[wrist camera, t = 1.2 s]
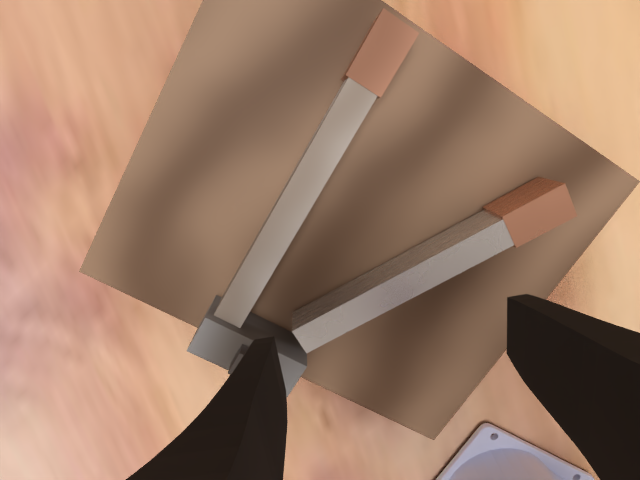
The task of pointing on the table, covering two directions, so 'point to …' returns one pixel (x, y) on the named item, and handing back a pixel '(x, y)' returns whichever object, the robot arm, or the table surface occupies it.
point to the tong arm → (435, 260)
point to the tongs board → (339, 197)
